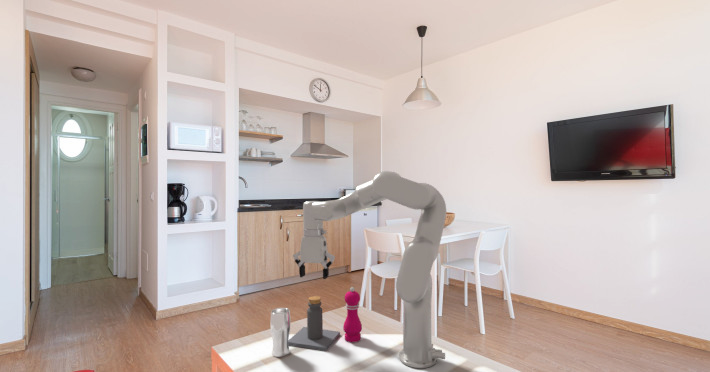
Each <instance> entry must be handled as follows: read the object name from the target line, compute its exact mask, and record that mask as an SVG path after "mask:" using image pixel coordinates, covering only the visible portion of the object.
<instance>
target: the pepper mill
mask: <svg viewBox="0 0 710 372" xmlns="http://www.w3.org/2000/svg"><path fill="white" fill-rule="evenodd" d="M360 300H361V296H360V293H359V292H358V291H356V290H355V288H354V287H353V286H351V287H350V289H349V291H347V292H346V293H345V295H344V302H345V309H346V310H347V311H346V312H347V313H346V318H345V320H344V323H343V327H342V329H343V332H344V340H345V341H346V342H348V343H358V342H359V341H361V339H362V337H361V336H362V335H361V332H362V330H363V326H362V321H361V319H360V317H359V312H358V310H359V308H360V306H359V305H360V304H359V302H360Z"/></svg>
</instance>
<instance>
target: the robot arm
mask: <svg viewBox="0 0 710 372" xmlns="http://www.w3.org/2000/svg"><path fill="white" fill-rule="evenodd" d="M386 200H388V201H391V202H394V203H396V204H399V205H401V206H404V207H406V208H408V209H412V210H420V216H419V218H418V222H417V227H416V231H415V234H414V237H413V240H412V241H410V242H409V243H408V244H407V246H406V247H405V248H404V252H403V255H402V259H401V261H400V265H399V270H398V274H397V278H396V282H395V283H396V284H395V288H396V293H397V295H398V296H399V298H400V299H401V300H402V301H403V302H402V321H403V322H402V334H403V335H402V337H403V338H402V345H403V348H402V349H401V350H400V351H399V353H398V360H399V361H400V362H401V363H402V364H403V365H405V366H407V367H411V368H415V369H425V368H430V367H433V366H434V365H435V364H436V363H437V359H439V360H446V352H443V349H437V348H435V347H434V344H433V343H432V297H433V296H432V294H433V277H432V275H431V273H432V267H433V265H434V262H435V261H436V260H437V258H438V256H439V248H440V244H441V240H442V236H443V231H444V227H445V222H446V218H447V204H446V201H445V199H444V196H443V195H442V193H441V192H440V191H439V190H438V188H436V187H435V186H433V185H431V184H429V183H427V182H417V181H414V180H410V179H408V178H405V177H402V175H400V174H399V173H397V172H395V171H389V170H387V171H386V170H385V171H380V172H379V173H377V174H376V175H375V176H374V177H373V179H370V180H368V181H366V182H363V183H361V184H358V185H357V186H356V188H355V190H354V191H352V192H351V193H349V194H347V195H345V196H343V197H341V198H338V199H332V200H331V199H330V200H325V201H323V200H322V201H319V200H308V201H307V200H306V201H305V202H303V205H302V216H303V219H302V221H303V222H302V223H303V225H302V226H303V231H302V232H303V236H301V240H300V249H299V251H298V252H296V253H294V254H292V257H293V259H294V262H295V264H297V267H298V269H299V270H298V272H299V273H298V274H299V277H300V278H303V277H305V276H306V266H305V264H307V263H308V264H321V265H322V267H323V268H322V279H323V280H326V279H328V277H329V276H330V275H329V273H330V272H329V271H330V270H329V268H330V267H331V266H332V264H333V263H334V261H335V259H336V256H335V255H333V254H331V253H329V251H328V243H327V238H326V236H325V235H326V234H327V230H325V229H324V222H331V221H335V220H336V221H337V220H340V219H342V218H345V217H348V216H350V215H353V214H355V213H357V212H359V211H362V210H365V209H367V208H369V207H371V206H374V205H376V204H378V203H381V202H383V201H386ZM328 258H329V261H328Z"/></svg>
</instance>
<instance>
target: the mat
mask: <svg viewBox="0 0 710 372" xmlns="http://www.w3.org/2000/svg"><path fill="white" fill-rule="evenodd" d="M340 335H341V331H339V330H331V329H330V330H329V329H324V328H323V336H322V338H320V339H318V340H311V339H308V336H307V326H303V327H302V328H301V329H299V331H297V332H296V333H295V334H294V335H292V337H290V338H289V339H288V345H289V346H290V347H291V346H292V347H299V348H304V349H312V350H318V351H324V352H327V351H328V350H329V348H330V347H331V346H332V345H333V344H334V342H336V341H337V339H338V338H339V337H340Z"/></svg>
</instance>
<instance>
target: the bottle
mask: <svg viewBox="0 0 710 372" xmlns="http://www.w3.org/2000/svg"><path fill="white" fill-rule="evenodd" d="M307 306H308V307H307V309H306V315H307V316H306V320H307V321H306V325H307V326H306V327H307V336H308V339H311V340H318V339H320V338H322V336H323V329H324V327H323V326H324V325H323V308H322V307H321V306H322V302H321V296H319V295H313V296H309V297H308V302H307Z"/></svg>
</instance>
